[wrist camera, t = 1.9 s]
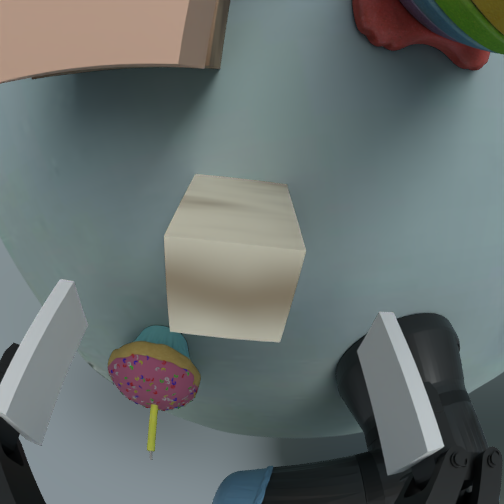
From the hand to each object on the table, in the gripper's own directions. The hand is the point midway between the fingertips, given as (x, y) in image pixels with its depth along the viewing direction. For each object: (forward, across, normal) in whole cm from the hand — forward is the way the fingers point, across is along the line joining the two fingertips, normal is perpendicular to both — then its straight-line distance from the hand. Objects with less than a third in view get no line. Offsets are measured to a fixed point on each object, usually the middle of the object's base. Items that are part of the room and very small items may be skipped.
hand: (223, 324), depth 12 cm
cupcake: (+10, +6, +14) cm, 19 cm away
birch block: (+10, 0, 0) cm, 10 cm away
